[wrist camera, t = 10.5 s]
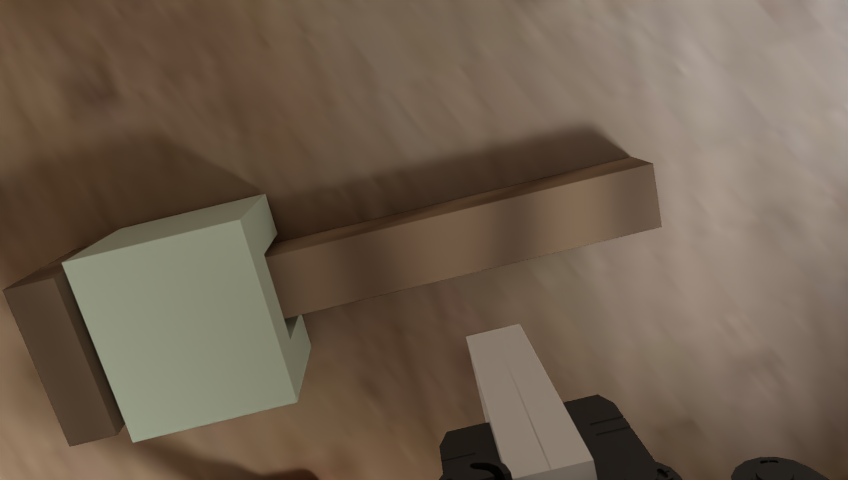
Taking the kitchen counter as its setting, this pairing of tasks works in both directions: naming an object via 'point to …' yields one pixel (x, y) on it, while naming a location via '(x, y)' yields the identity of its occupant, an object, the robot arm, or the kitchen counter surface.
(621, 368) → the kitchen counter surface
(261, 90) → the kitchen counter surface
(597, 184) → the rail
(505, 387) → the robot arm
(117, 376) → the slider
